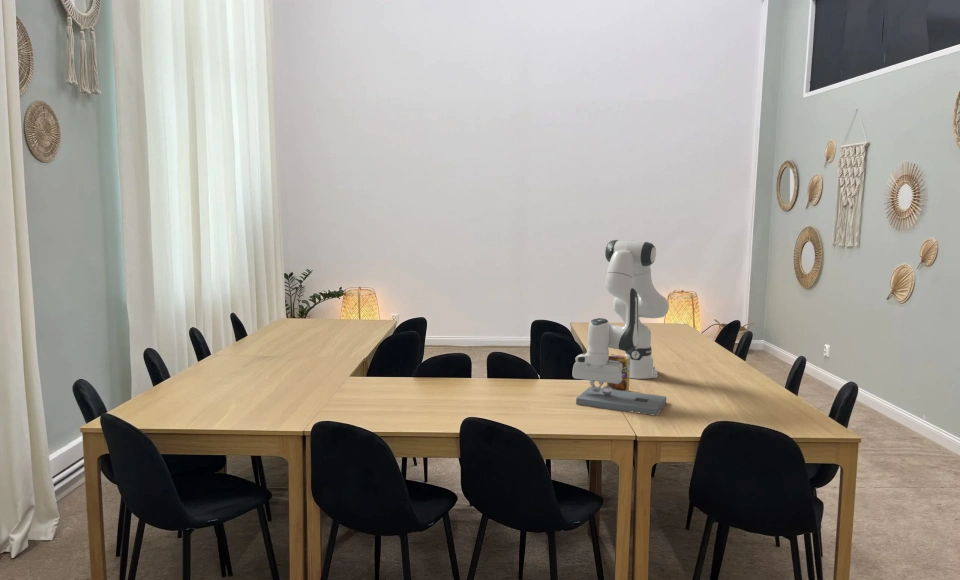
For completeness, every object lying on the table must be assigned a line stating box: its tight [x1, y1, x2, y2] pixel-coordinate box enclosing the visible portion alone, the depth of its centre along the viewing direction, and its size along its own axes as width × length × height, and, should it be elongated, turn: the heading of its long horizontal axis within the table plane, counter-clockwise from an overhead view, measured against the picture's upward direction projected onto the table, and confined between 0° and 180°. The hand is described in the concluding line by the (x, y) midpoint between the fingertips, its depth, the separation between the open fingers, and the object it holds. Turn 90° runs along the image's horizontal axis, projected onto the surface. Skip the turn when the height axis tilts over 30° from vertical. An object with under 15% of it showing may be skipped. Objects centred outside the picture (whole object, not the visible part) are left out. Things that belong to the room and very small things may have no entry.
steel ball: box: [602, 385, 612, 396], centre depth 275 cm, size 4×4×4 cm
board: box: [575, 386, 667, 416], centre depth 273 cm, size 20×32×2 cm, turn 65°
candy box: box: [606, 353, 631, 392], centre depth 292 cm, size 9×4×15 cm, turn 60°
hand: (596, 391), depth 277 cm, fingers closed
